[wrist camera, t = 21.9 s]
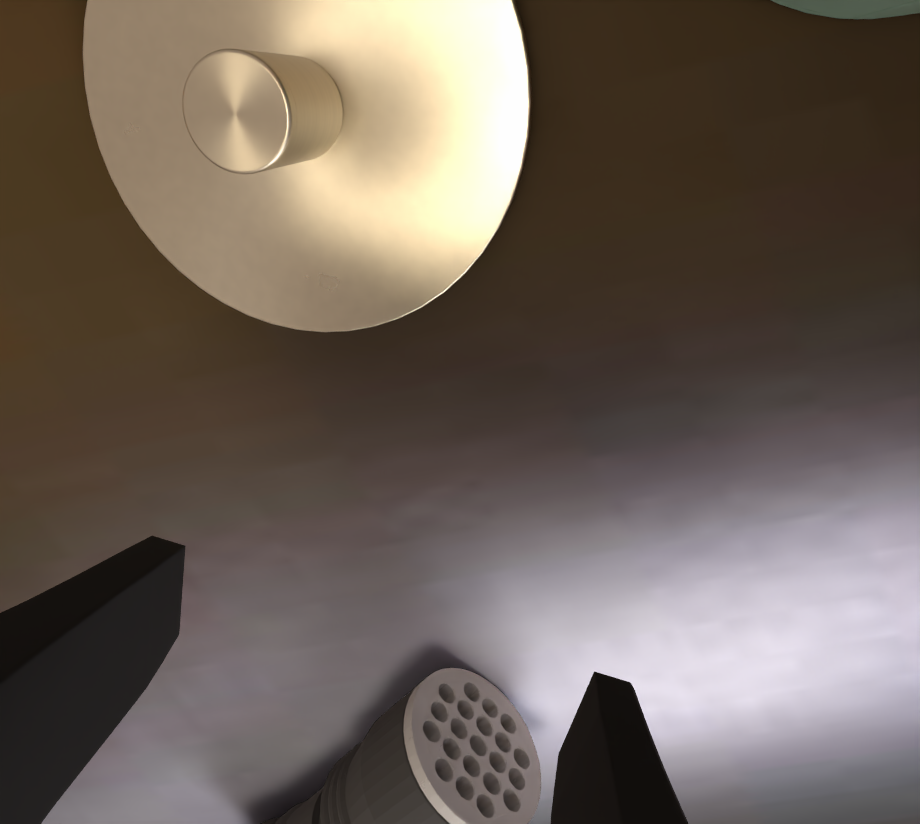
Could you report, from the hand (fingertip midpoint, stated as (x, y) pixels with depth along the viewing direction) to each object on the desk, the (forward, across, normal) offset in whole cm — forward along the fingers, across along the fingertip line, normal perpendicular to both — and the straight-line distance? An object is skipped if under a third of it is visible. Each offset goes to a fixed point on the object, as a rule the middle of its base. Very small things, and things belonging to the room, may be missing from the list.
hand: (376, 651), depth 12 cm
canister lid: (+10, +6, -7) cm, 13 cm away
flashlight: (+11, 0, +17) cm, 20 cm away
